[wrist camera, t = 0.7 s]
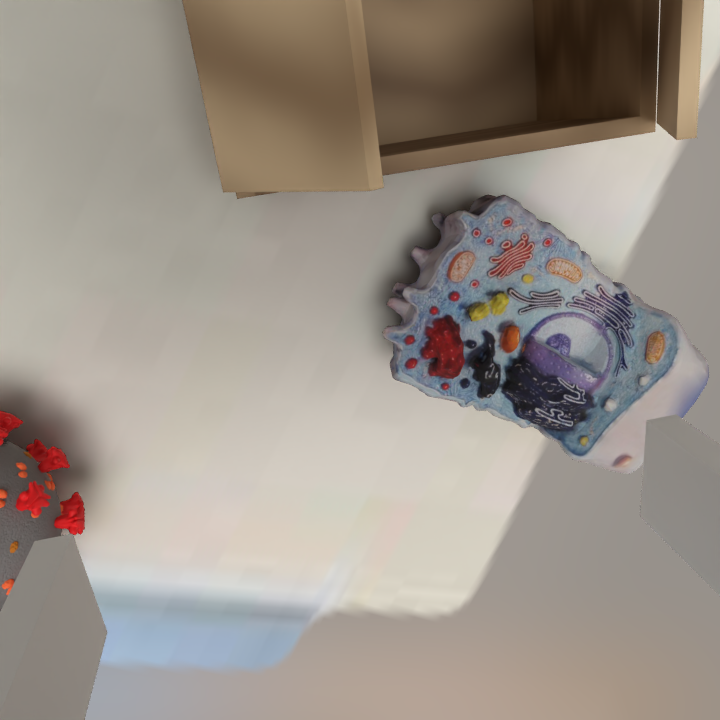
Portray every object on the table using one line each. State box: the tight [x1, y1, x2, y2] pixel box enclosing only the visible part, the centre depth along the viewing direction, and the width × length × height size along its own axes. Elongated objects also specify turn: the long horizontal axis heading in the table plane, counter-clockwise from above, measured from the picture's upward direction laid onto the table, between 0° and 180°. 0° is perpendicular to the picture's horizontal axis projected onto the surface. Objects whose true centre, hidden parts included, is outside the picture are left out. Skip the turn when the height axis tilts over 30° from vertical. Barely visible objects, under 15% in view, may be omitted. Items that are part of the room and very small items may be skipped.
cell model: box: [382, 195, 709, 474], centre depth 40 cm, size 13×11×20 cm
